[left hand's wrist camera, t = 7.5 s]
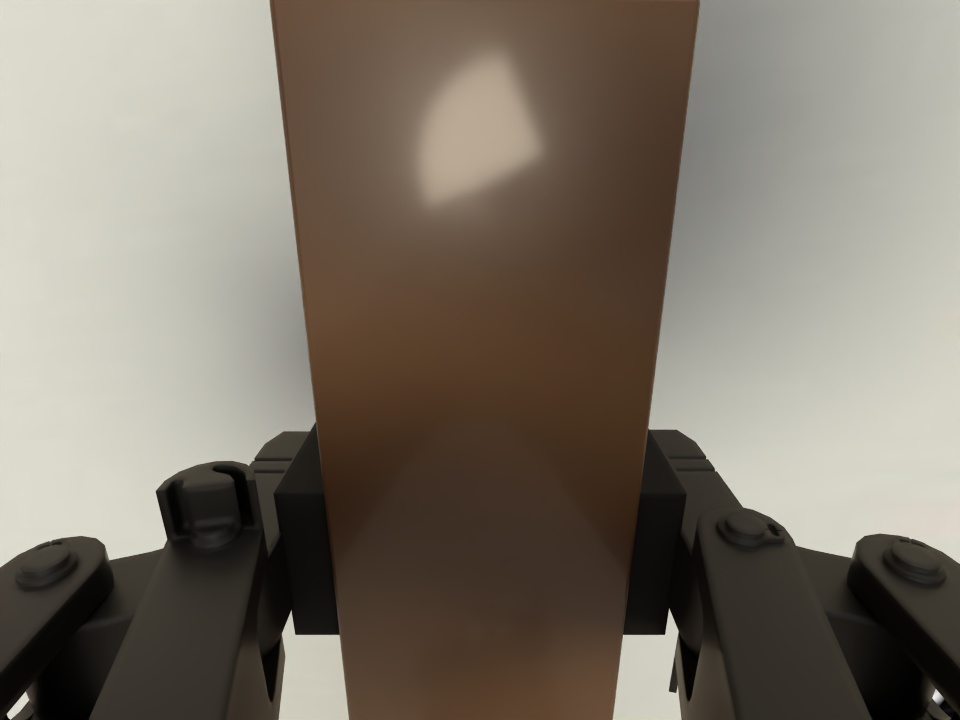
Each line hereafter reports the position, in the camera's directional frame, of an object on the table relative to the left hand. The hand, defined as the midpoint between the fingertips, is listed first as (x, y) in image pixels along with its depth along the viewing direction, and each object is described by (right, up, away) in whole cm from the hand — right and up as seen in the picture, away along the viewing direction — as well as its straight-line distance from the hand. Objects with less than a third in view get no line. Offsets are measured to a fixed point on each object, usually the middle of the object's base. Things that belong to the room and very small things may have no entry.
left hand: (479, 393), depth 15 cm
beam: (0, -17, +7) cm, 18 cm away
